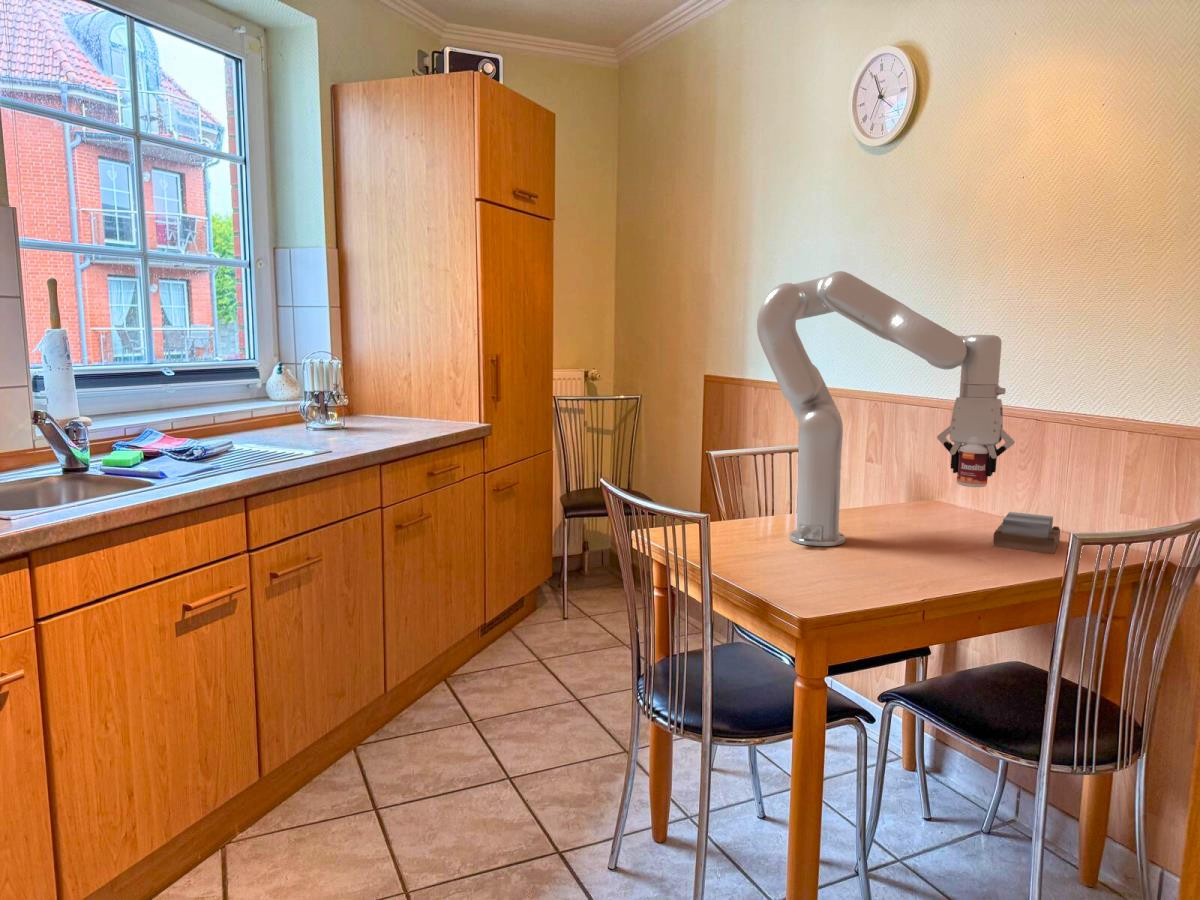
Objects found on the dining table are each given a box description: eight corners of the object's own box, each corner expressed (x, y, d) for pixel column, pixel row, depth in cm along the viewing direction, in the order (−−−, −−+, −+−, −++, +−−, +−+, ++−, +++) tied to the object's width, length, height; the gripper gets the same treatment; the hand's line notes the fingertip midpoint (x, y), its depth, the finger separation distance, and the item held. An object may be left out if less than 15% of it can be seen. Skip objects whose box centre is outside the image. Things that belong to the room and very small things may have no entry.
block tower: (1053, 553, 177) (1055, 526, 176) (993, 545, 184) (994, 519, 183) (1059, 541, 187) (1061, 516, 186) (1001, 534, 194) (1003, 509, 193)
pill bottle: (956, 486, 178) (960, 436, 177) (955, 481, 184) (959, 433, 182) (988, 488, 176) (992, 438, 174) (986, 483, 182) (990, 434, 180)
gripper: (1025, 393, 175) (1018, 475, 178) (940, 389, 185) (935, 467, 188) (1020, 395, 169) (1013, 480, 172) (932, 391, 179) (927, 472, 181)
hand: (972, 473), depth 180 cm, fingers closed on pill bottle, 6 cm apart
